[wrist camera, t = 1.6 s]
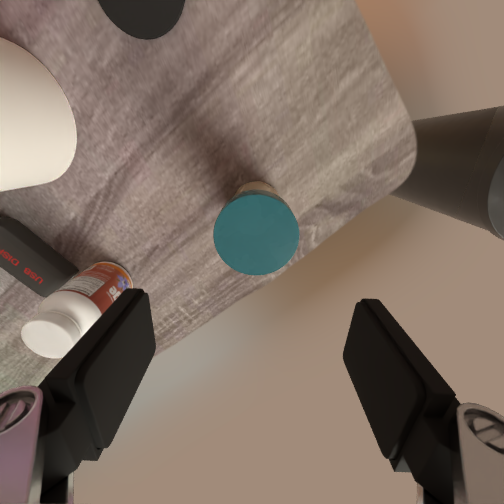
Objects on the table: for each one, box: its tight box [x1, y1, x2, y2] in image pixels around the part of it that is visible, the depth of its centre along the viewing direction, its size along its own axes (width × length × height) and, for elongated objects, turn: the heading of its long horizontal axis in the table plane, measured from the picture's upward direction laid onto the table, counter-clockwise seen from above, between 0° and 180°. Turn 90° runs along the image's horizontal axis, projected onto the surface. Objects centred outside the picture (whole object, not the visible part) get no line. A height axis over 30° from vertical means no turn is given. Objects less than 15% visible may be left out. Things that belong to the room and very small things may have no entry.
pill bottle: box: [21, 262, 133, 358], centre depth 28 cm, size 6×6×11 cm
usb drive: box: [0, 217, 79, 297], centre depth 30 cm, size 5×12×3 cm, turn 40°
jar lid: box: [213, 189, 299, 275], centre depth 20 cm, size 7×7×2 cm
